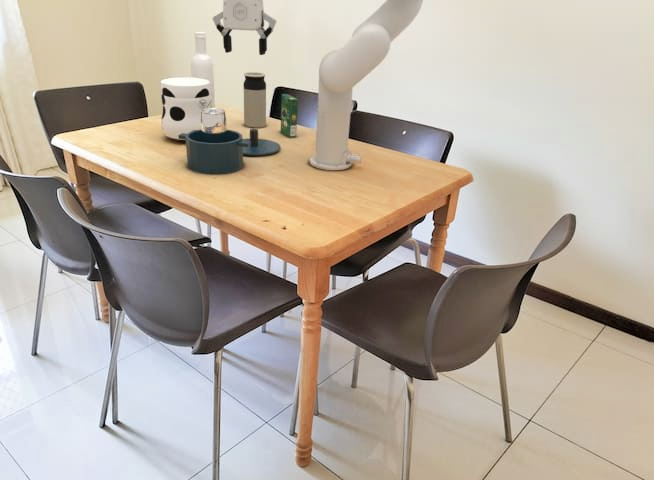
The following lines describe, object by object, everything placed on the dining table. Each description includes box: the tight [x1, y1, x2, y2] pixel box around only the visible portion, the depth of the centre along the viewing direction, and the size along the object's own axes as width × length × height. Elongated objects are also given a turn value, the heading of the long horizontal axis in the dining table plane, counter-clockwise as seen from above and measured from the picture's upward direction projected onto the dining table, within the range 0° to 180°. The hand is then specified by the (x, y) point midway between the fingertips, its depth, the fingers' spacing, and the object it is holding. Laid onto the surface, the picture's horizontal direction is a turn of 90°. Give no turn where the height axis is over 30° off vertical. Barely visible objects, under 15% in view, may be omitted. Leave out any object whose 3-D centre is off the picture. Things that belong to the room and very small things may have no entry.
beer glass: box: [201, 107, 227, 143], centre depth 143 cm, size 7×7×15 cm
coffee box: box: [280, 93, 299, 138], centre depth 175 cm, size 8×3×13 cm, turn 27°
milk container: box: [160, 76, 212, 143], centre depth 165 cm, size 17×17×18 cm
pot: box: [178, 129, 251, 175], centre depth 145 cm, size 16×21×8 cm
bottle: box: [190, 31, 216, 108], centre depth 184 cm, size 8×8×30 cm
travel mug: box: [243, 71, 267, 129], centre depth 183 cm, size 8×8×18 cm
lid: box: [242, 128, 281, 156], centre depth 160 cm, size 17×17×6 cm
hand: (245, 53), depth 137 cm, fingers open, 9 cm apart
